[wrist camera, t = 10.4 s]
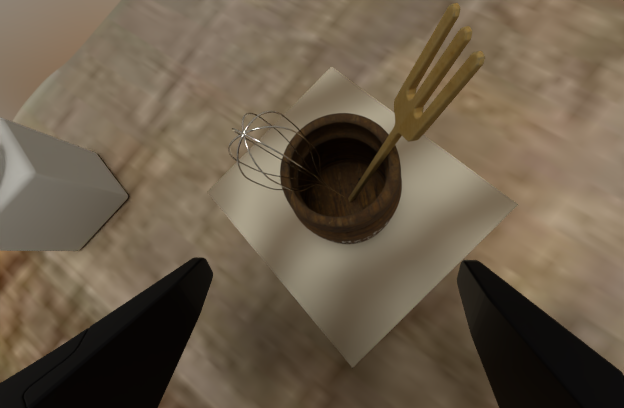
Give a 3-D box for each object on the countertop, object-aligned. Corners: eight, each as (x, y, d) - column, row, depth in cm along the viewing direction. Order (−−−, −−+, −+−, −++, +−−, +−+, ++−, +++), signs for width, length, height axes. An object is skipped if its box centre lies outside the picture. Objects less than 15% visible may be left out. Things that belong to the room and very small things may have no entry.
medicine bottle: (97, 152, 25) (-137, 64, 13) (131, 197, 23) (-111, 139, 11) (50, 203, 25) (-225, 159, 13) (80, 252, 23) (-215, 252, 11)
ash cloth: (504, 208, 16) (518, 204, 14) (353, 357, 16) (352, 368, 15) (333, 79, 20) (331, 66, 19) (217, 196, 21) (207, 192, 19)
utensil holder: (297, 175, 18) (175, 33, 6) (382, 149, 17) (420, -74, 5) (316, 254, 16) (202, 258, 5) (410, 230, 15) (543, 165, 4)
